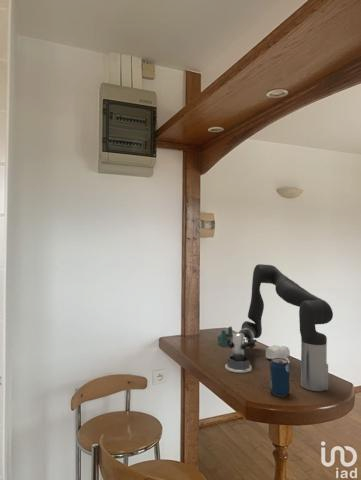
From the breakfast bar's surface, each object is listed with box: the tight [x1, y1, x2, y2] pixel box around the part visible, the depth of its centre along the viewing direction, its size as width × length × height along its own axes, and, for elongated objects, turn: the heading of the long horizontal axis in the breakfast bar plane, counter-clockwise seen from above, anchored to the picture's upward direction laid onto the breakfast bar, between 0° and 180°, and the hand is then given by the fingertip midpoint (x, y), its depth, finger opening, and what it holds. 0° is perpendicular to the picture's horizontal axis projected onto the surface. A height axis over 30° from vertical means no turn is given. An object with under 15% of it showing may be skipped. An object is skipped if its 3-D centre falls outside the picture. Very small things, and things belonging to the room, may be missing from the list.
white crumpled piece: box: [264, 345, 291, 364], centre depth 164 cm, size 9×8×15 cm
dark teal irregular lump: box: [217, 326, 233, 348], centre depth 192 cm, size 9×9×9 cm
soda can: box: [269, 358, 291, 397], centre depth 129 cm, size 7×7×12 cm
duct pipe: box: [232, 331, 245, 361], centre depth 155 cm, size 5×5×12 cm
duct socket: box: [224, 354, 253, 374], centre depth 155 cm, size 12×12×4 cm
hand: (237, 346), depth 152 cm, fingers closed on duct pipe, 5 cm apart
